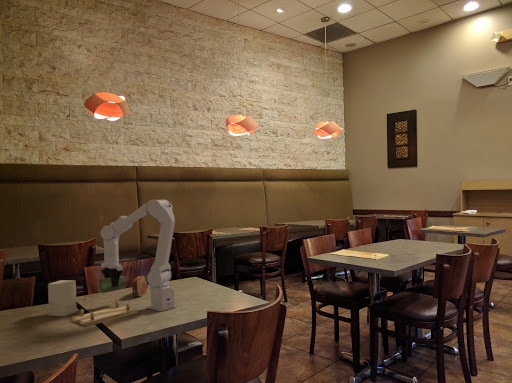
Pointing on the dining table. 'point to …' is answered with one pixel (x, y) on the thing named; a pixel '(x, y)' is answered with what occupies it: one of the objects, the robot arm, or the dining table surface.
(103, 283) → the board block
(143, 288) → the tin
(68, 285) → the supplement box
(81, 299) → the dining table surface
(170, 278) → the robot arm
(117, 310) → the base plate
